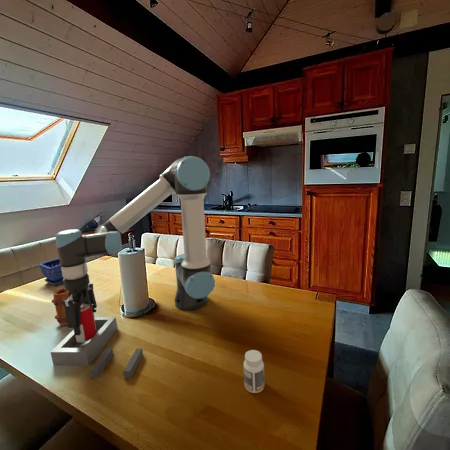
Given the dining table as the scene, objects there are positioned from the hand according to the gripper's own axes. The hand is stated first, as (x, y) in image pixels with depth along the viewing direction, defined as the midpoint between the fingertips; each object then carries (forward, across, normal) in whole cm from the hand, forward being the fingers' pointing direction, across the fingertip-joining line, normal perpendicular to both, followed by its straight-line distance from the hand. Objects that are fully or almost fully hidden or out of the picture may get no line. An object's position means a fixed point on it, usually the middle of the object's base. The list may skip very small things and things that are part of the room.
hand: (86, 335), depth 94 cm
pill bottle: (+4, +17, +59) cm, 62 cm away
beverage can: (+1, 0, 0) cm, 1 cm away
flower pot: (+4, -55, -50) cm, 74 cm away
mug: (+4, -17, -17) cm, 24 cm away
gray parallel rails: (+4, +10, +16) cm, 19 cm away
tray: (+4, 0, 0) cm, 4 cm away
